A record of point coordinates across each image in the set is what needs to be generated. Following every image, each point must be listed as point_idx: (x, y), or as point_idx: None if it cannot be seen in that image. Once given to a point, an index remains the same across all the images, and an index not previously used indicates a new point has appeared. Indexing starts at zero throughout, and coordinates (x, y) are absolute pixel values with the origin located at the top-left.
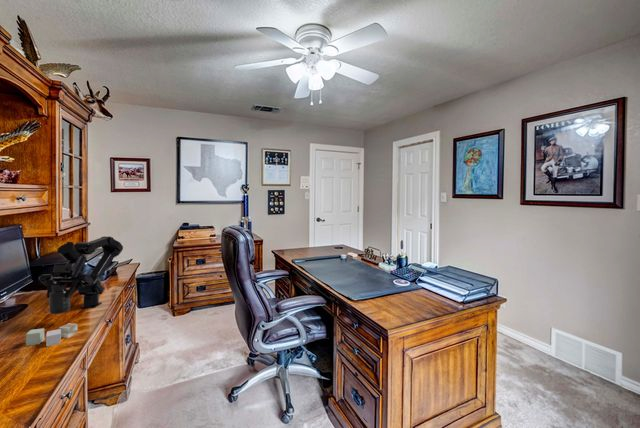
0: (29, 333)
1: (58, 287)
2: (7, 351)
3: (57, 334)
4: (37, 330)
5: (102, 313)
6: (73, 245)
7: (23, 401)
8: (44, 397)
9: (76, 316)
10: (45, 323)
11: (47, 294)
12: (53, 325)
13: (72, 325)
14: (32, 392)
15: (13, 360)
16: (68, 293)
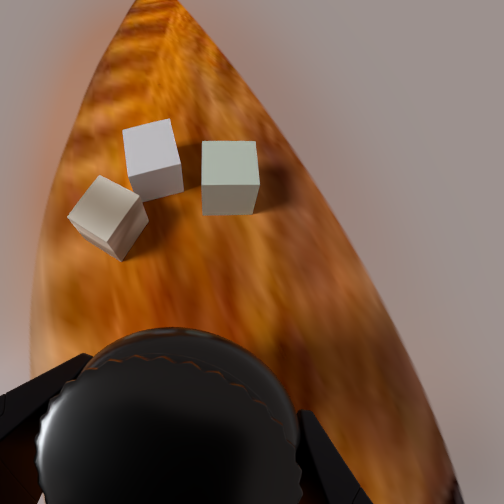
0: (244, 145)
1: (133, 359)
2: (290, 152)
3: (132, 128)
4: (223, 168)
5: None
6: None
7: (159, 4)
8: (134, 7)
9: None
10: None
11: (320, 431)
12: None
13: (85, 203)
14: (152, 13)
15: (237, 95)
16: (57, 370)
